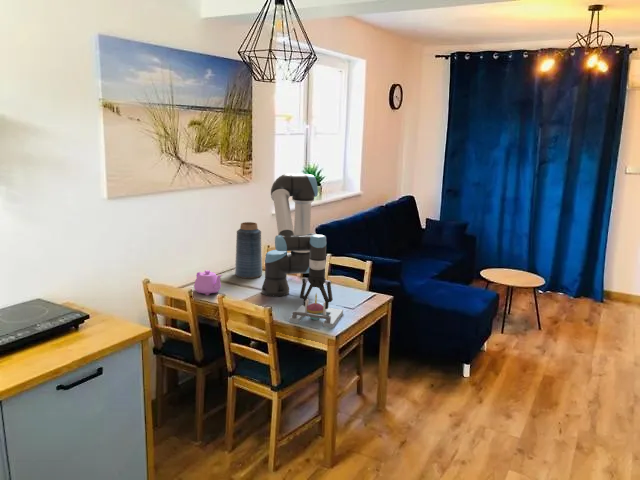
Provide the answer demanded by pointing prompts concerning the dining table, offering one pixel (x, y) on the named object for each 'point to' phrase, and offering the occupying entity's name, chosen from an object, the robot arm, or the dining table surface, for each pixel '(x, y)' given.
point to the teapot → (207, 282)
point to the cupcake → (315, 308)
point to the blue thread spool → (248, 251)
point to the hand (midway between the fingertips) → (315, 313)
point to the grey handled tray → (318, 316)
